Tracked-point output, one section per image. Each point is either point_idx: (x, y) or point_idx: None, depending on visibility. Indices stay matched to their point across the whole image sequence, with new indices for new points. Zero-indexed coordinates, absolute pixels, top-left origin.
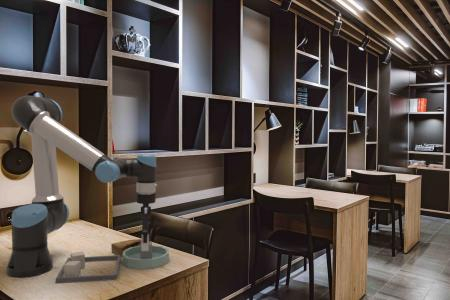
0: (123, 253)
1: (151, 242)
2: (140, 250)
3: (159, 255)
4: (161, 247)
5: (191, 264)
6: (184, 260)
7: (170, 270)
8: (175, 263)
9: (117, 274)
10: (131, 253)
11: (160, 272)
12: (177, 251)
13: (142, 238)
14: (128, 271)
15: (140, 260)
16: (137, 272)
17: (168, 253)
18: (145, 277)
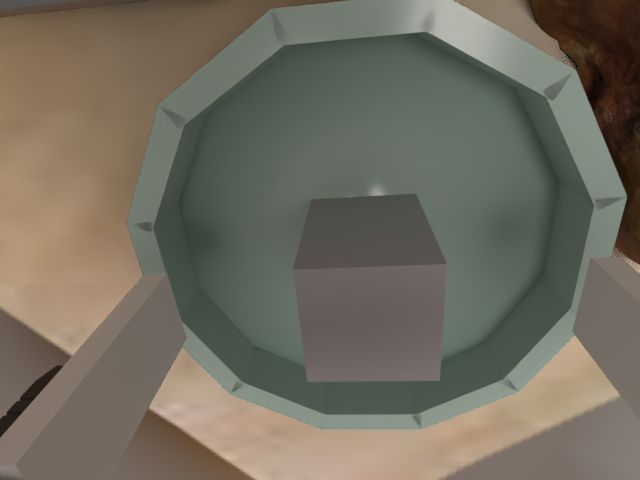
0: (338, 13)
1: (400, 377)
2: (565, 185)
3: None
4: (481, 387)
5: (267, 471)
6: (338, 449)
7: (165, 378)
8: None
9: (4, 15)
10: (518, 89)
11: None
12: (532, 428)
13: (45, 405)
14: (107, 108)
15: (132, 231)
16: (99, 184)
17: (315, 424)
18: (22, 245)
